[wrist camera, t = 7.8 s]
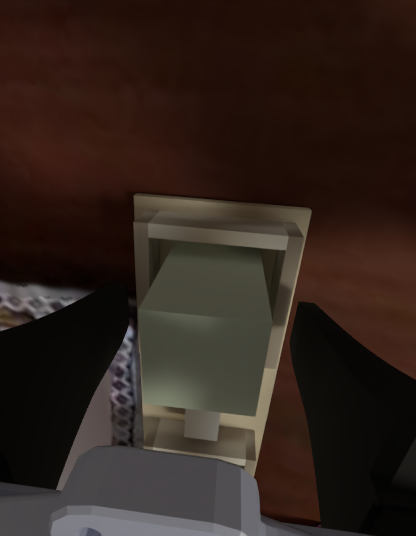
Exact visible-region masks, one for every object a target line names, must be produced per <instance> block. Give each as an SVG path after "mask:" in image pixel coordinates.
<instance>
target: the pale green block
mask: <svg viewBox="0 0 416 536" xmlns="http://www.w3.org/2000/svg"><path fill="white" fill-rule="evenodd" d="M138 311H139V331H140V351H141V371H142V391H143V404H152V405H160V406H168V407H177V408H185V409H193V410H202V411H210V412H218V413H227V414H235V415H243V416H252V417H256V411H257V406H258V400H259V395H260V389H261V384H262V379H263V373H264V368H265V362H266V357H267V352H268V346H269V341H270V335H271V330H272V324H273V322H272V316H271V310H270V304H269V299H268V293H267V287H266V281H265V275H264V270H263V264H262V258H261V252H260V248H255V247H244V246H233V245H221V244H210V243H199V242H187V241H175V243H174V245H173V247H172V249H171V250H170V252H169V254H168V256H167V258H166V260H165V261H164V263H163V265H162V267H161V269H160V271H159V273H158V274H157V276H156V278H155V280H154V282H153V284H152V285H151V287H150V289H149V291H148V293H147V295H146V296H145V298H144V300H143V302H142V304H141V306H140V307H139V309H138Z"/></svg>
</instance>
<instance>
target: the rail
mask: <svg viewBox="0 0 416 536" xmlns="http://www.w3.org/2000/svg"><path fill="white" fill-rule="evenodd" d="M311 213H312V210H311V209H310V208H303V207H292V206H280V205H269V204H257V203H245V202H234V201H222V200H211V199H199V198H187V197H176V196H164V195H153V194H141V193H136V194H135V195H134V216H135V221H134V222H133V226H134V249H135V272H136V295H137V318H138V340H139V353H140V360H141V351H140V331H139V311H138V309H139V307H140V306H141V304H142V302H143V300H144V298H145V296H146V295H147V293H148V291H149V289H150V287H151V285H152V284H153V282H154V280H155V278H156V276H157V274H158V273H159V271H160V269H161V267H162V265H163V263H164V261H165V260H166V258H167V256H168V254H169V252H170V250H171V249H172V247H173V245H174V243H175V241H187V242H199V243H210V244H221V245H233V246H244V247H255V248H260V252H261V258H262V264H263V270H264V275H265V281H266V287H267V293H268V299H269V304H270V310H271V316H272V322H273V324H272V330H271V335H270V341H269V346H268V352H267V357H266V362H265V368H264V373H263V379H262V384H261V389H260V395H259V400H258V406H257V411H256V417H252V416H243V415H235V414H227V413H218V412H210V411H202V410H193V409H185V408H177V407H168V406H160V405H152V404H143V391H142V408H143V432H144V445H143V449H149V450H157V451H164V452H172V453H179V454H187V455H194V456H202V457H209V458H217V459H220V460H224V461H227V462H230V463H233V464H237V465H239V466H240V467H241V468H242V469H244V470H245V471H246V472H247V473H248V474H249V475H251V476H252V477H253V478H254V474H255V469H256V464H257V460H258V455H259V451H260V446H261V442H262V437H263V432H264V428H265V423H266V419H267V414H268V410H269V405H270V400H271V396H272V391H273V387H274V382H275V378H276V373H277V368H278V364H279V359H280V355H281V350H282V345H283V341H284V336H285V332H286V327H287V323H288V318H289V313H290V309H291V304H292V300H293V295H294V291H295V286H296V281H297V277H298V272H299V268H300V263H301V259H302V254H303V249H304V245H305V240H306V236H307V231H308V227H309V222H310V217H311ZM141 384H142V371H141Z"/></svg>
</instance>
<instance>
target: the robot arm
mask: <svg viewBox="0 0 416 536" xmlns="http://www.w3.org/2000/svg"><path fill="white" fill-rule="evenodd" d="M128 326H129V308H128V291H127V284H123V283H114V282H113V283H111V284H108V285H106V286H104V287H102V288H101V289H99V290H97V291H95V292H93V293H91V294H89V295H87V296H86V297H84V298H82V299H80V300H78V301H76V302H74V303H72V304H70V305H68V306H66V307H64V308H62V309H60V310H58V311H55V312H53V313H51V314H49V315H46V316H44V317H41V318H39V319H36V320H34V321H31V322H28V323H25V324H22V325H19V326H16V327H13V328H10V329H6V330H3V331H0V536H416V380H415V379H413V378H411V377H410V376H408V375H406V374H404V373H403V372H401V371H399V370H398V369H396V368H394V367H393V366H391V365H390V364H388V363H387V362H385V361H384V360H382V359H381V358H379V357H378V356H376V355H375V354H374V353H372V352H371V351H369V350H368V349H367V348H365V347H364V346H363V345H362V344H360V343H359V342H358V341H357V340H355V339H354V338H353V337H352V336H350V335H349V334H348V333H347V332H346V331H345V330H343V329H342V328H341V327H340V326H339V325H338V324H337V323H336V322H334V321H333V320H332V319H331V318H330V317H329V316H328V315H327V314H326V313H325V312H324V311H323V310H321V309H320V308H319V307H318V306H317V305H316V304H314V303H308V302H299V303H298V307H297V312H296V316H295V320H294V325H293V329H292V333H291V338H290V349H291V357H292V364H293V368H294V372H295V376H296V379H297V383H298V387H299V391H300V394H301V398H302V402H303V405H304V409H305V413H306V418H307V422H308V428H309V434H310V440H311V447H312V454H313V461H314V468H315V475H316V484H317V492H318V500H319V509H320V519H321V528H318V527H311V526H304V525H297V524H290V523H283V522H279V521H276V520H273V519H271V518H268V517H265V516H262V515H260V503H259V492H258V487H257V483H256V480H255V479H254V478H253V477H252V476H251V475H249V474H248V473H247V472H246V471H245V470H244V469H242V468H241V467H240V466H239V465H237V464H233V463H230V462H227V461H224V460H220V459H217V458H209V457H202V456H194V455H187V454H179V453H172V452H164V451H157V450H149V449H142V448H134V447H127V446H119V445H112V446H97V447H94V448H92V449H90V450H89V451H87V452H85V453H84V454H82V455H80V456H79V457H78V459H77V461H76V463H75V465H74V467H73V469H72V471H71V473H70V475H69V477H68V480H67V482H66V484H65V486H64V488H63V490H62V491H59V490H56V488H57V485H58V482H59V479H60V476H61V474H62V471H63V468H64V466H65V463H66V460H67V458H68V455H69V452H70V450H71V447H72V445H73V442H74V439H75V437H76V435H77V432H78V430H79V427H80V425H81V422H82V420H83V418H84V415H85V413H86V411H87V408H88V406H89V404H90V401H91V399H92V397H93V395H94V393H95V391H96V389H97V387H98V385H99V383H100V381H101V380H102V378H103V376H104V374H105V373H106V371H107V369H108V367H109V366H110V364H111V362H112V360H113V359H114V357H115V355H116V353H117V351H118V350H119V348H120V346H121V344H122V342H123V339H124V337H125V334H126V332H127V329H128Z"/></svg>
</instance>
